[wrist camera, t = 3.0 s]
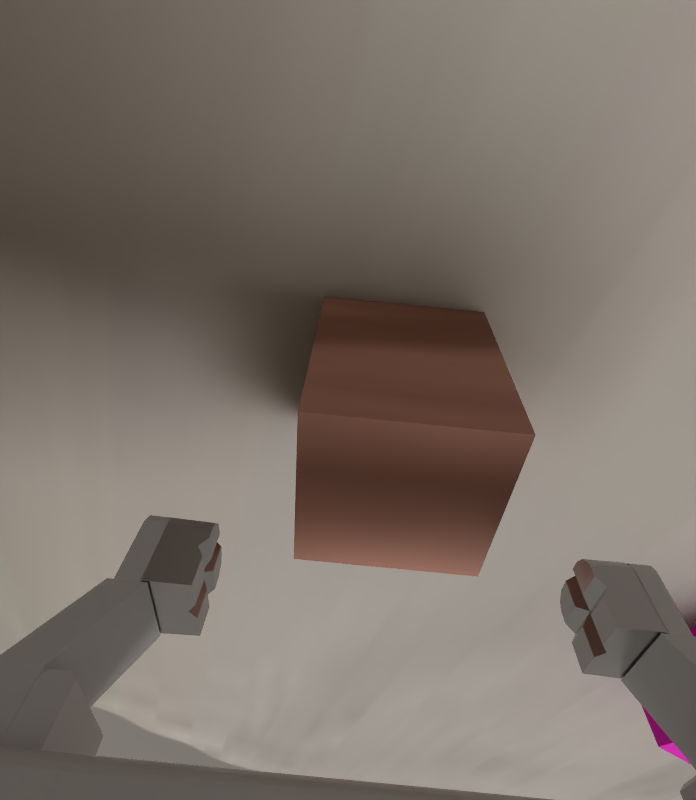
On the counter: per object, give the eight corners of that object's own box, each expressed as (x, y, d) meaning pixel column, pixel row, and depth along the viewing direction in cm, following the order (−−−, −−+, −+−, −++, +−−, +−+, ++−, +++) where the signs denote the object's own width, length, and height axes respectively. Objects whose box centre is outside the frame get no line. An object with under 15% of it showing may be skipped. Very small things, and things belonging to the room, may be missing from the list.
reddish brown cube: (324, 295, 15) (297, 411, 10) (483, 312, 15) (535, 435, 10) (317, 421, 18) (293, 558, 13) (450, 434, 18) (478, 576, 13)
